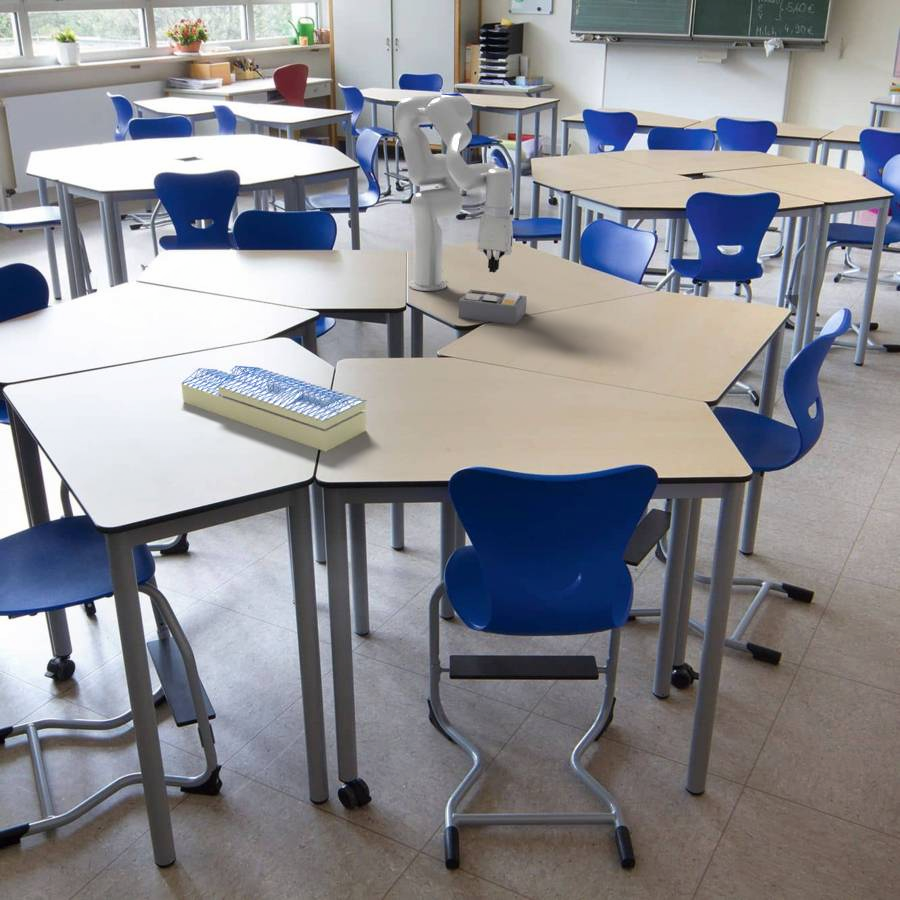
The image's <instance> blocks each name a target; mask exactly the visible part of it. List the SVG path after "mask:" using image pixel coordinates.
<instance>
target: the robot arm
mask: <svg viewBox="0 0 900 900" xmlns="http://www.w3.org/2000/svg"><path fill="white" fill-rule="evenodd" d="M473 113H474V112H473V106H472V104H471V102H470V101H469V100H468V98H466V97H465V96H462V95H447V94H446V95H445V94H444V95H443V94H442V95H441V94H440V95H437V94H436V95H435V94H434V95H418V96H410V97H406V98H403V99H401V100H400V101H399V102H398V103H397V104H396V107H395V109H394V115H393V117H394V118H393V119H394V126H395V128H396V131H397V134H398V136H399V139H400V142H401V144H402V150H403V154H404V158H405V159H404V160H405V164H406V168H407V173H408V177H409V180H410V182H411V184H413V185H414V186H416V187H428V186H436V185H437V188H430V189H425V190H421V191H418V192H416V193H415V194H414V195H413V196H412V198H411V201H410V211H411V215H412V223H413V225H412V226H413V279H411V280H409V281H408V287H409V288H410V289H413V290H417V291H423V292H434V291H435V292H436V291H440V290H444V289H446V287H447V284H448V283H447V282H446V281H445V280H444V279H443V274H444V271H443V251H444V250H443V241H444V240H443V237H444V236H443V235H444V234H443V229H442V227H441V226H440V224H439V221H438V220H440V219H441V220H442V219H447V218H453V217H455V216H458V215H459V214H460V213H461V211H462V209H463V198H462V191H465V192H472V191H473V192H474V191H478V190H485V197H484V198H485V200H484V204H482V205H480V207H479V209H480V210H481V211H483V214H481V216H480V219H479V220H480V221H479V226H478V231H477V238H476V239H477V240H476V245H477V247H476V248H477V249H476V250H477V251H480V252H482V253H484V255H485V256H486V257H487V259H488V262H487V269H489V270H488V272H489V273H497V271H498V270H499V268H500V258H502V257H503V256H510V255H511V254H513V249H512V247H513V238H514V231H513V218H512V216H511V215H510V213H511V212H510V211H511V202H512V201H511V200H512V199H511V198H512V190H513V189H512V188H513V186H512V185H513V173H512V171H511V170H510V169H509V168H505V167H501V166H499V165H497V164H496V163H494V162H493V163H492V162H481V163H471V164H467V163H466V162H465V160H464V159H463V157H462V155H461V153H460V152H461V151H462V150H464V149H465V148H466V147H468V145H469V144H470V143H471V140H472V138H473V134H472V131H471V129H470V128H469V126H468V125H467V124H468V123H469V122H470V121H471V120H472V118H473ZM420 125H433V127H434V128H435V130H436V131H437V133H438V135H439V136H440V138H441V140H442V141H443V143H444V144H445V146H446V148H447V149H446V152H445V153H435V154H434V153H432V149H431V146H430V140H429V139H428V136H427V135H426V134H425V132H424V131H423V130H422V129H421V128H420V127H419V126H420ZM461 190H462V191H461ZM494 252H495V253H494ZM494 254H495V255H494Z"/></svg>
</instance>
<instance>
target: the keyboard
mask: <svg viewBox="0 0 900 900" xmlns="http://www.w3.org/2000/svg"><path fill="white" fill-rule="evenodd" d="M239 371H240V372H239ZM198 372H199V373H198ZM230 372H231V373H227V372H224V371H222V370H218V369H214V368H213V369H212V368H205V369H203V367H202V368H197V369H196V370H194V372H193V373H192V374H190V376H188V377H186V379H184V380H183V381H182V382H181V390H182V400H183V403H186V404H188V405H191V406H193V407H197V408H200V409H202V410H204V411H205V410H206V411H208V412H211V413H214V414H217V415H220V416H222V417H225V418H228V419H231V420H234V421H236V422H237V421H238V422H240V423H243V424H246V425H249V426H251V427H254V428H256V429H260V430H263V431H265V432H268V433H271V434H274V435H276V436H277V435H278V436H279V437H283V438H285V439H289V440H292V441H294V442H297V443H300V444H303V445H306V446H308V447H312V448H314V449H317V450H320V451H322V452H327V451H329V450H331V449H333V448H335V447H337V446H339V445H341V444H343V443H345V442H347V441H349V440H351V439H352V438H355V437H356V436H358V435H361V434H362V433H364V432H366V431H367V425H366V423H367V422H366V417H367V416H366V415H367V414H366V411H365V410H366V402H367V400H365V399H362V398H361V397H360V398H359V397H358V398H357V397H356V396H350V394H344V392H339V391H338V390H337V391H335V390H333V389H328V387H326V388H325V387H322V386H321V385H319V386H318V385H316V384H311V382H306V381H304V380H299V379H295V377H289V376H285V375H284V374H279V373H277V372H273V371H269V370H268V369H263V368H260V367H256V366H243V365H235V366H234V367H233V368H232V369H230ZM194 374H195V375H194ZM193 375H194V377H193ZM190 378H191V379H190ZM188 379H189V380H188Z"/></svg>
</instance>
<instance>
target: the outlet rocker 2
mask: <svg viewBox="0 0 900 900" xmlns="http://www.w3.org/2000/svg"><path fill="white" fill-rule="evenodd" d="M500 299H501V297H498V296H495V295H487V294H486V295H484V298H483V300H485V301H489V302H495V303H497V302H498V301H499V300H500Z"/></svg>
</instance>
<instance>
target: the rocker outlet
mask: <svg viewBox="0 0 900 900" xmlns="http://www.w3.org/2000/svg"><path fill="white" fill-rule="evenodd" d="M505 294H506V295H505V297H504V299H503V301H502V303H501V304H505V305H515V304H516V303H517V302H518V301H519V299H520V295H521V293H520V292H514V291H507V292H506V293H505Z"/></svg>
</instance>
